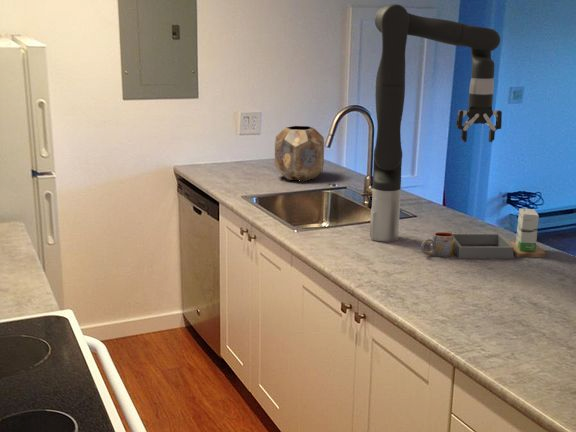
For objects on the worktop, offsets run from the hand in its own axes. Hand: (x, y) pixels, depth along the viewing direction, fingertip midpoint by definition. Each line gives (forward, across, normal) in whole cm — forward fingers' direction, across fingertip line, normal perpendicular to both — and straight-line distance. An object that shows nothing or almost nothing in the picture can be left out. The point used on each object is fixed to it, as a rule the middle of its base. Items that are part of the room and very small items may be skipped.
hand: (477, 141), depth 230 cm
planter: (+32, -57, +89) cm, 111 cm away
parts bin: (+32, -2, -18) cm, 37 cm away
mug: (+32, -16, -22) cm, 42 cm away
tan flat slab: (+32, +13, -18) cm, 39 cm away
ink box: (+31, +13, -18) cm, 38 cm away
